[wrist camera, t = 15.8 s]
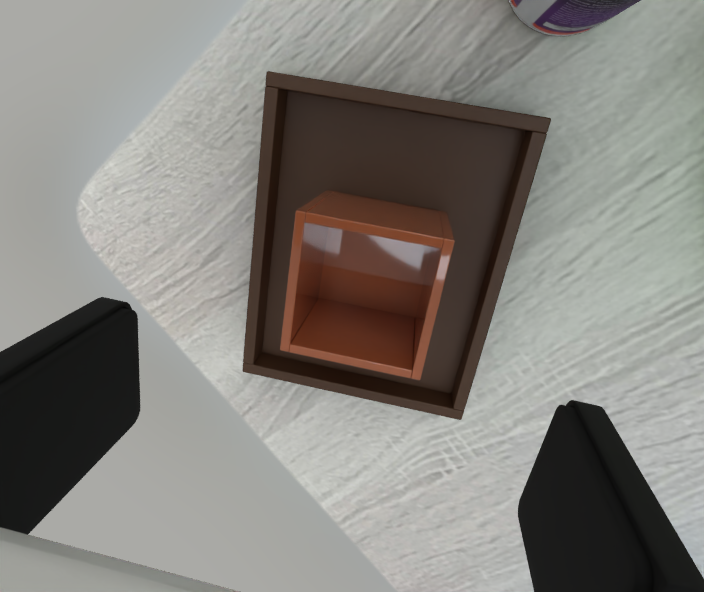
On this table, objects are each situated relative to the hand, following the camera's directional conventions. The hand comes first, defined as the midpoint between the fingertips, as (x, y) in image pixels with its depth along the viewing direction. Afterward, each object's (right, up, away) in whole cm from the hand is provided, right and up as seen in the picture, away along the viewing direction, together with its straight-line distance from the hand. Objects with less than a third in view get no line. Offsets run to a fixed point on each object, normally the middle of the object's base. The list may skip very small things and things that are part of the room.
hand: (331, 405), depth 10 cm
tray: (+2, +5, +14) cm, 15 cm away
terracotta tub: (+2, +4, +13) cm, 14 cm away
